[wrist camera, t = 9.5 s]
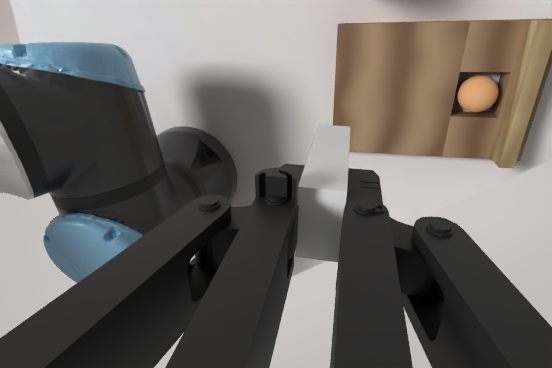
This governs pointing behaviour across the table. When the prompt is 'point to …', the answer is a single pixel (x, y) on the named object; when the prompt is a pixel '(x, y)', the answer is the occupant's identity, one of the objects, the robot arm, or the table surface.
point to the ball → (477, 93)
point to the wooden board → (439, 86)
